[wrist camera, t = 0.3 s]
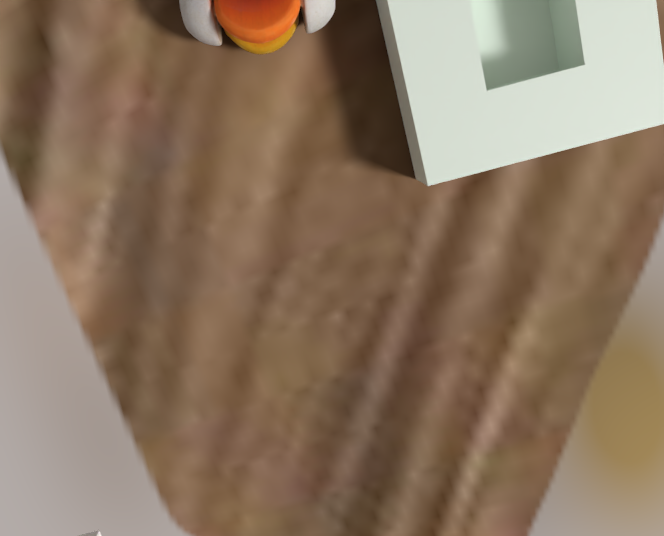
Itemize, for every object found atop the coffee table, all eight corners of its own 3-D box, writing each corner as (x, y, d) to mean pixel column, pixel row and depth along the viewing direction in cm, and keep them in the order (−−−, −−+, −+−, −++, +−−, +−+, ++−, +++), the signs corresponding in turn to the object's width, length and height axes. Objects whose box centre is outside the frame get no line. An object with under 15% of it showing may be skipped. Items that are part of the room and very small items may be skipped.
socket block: (362, -58, 35) (369, -80, 31) (600, -124, 35) (637, -154, 31) (415, 179, 39) (428, 186, 35) (633, 121, 38) (670, 122, 34)
